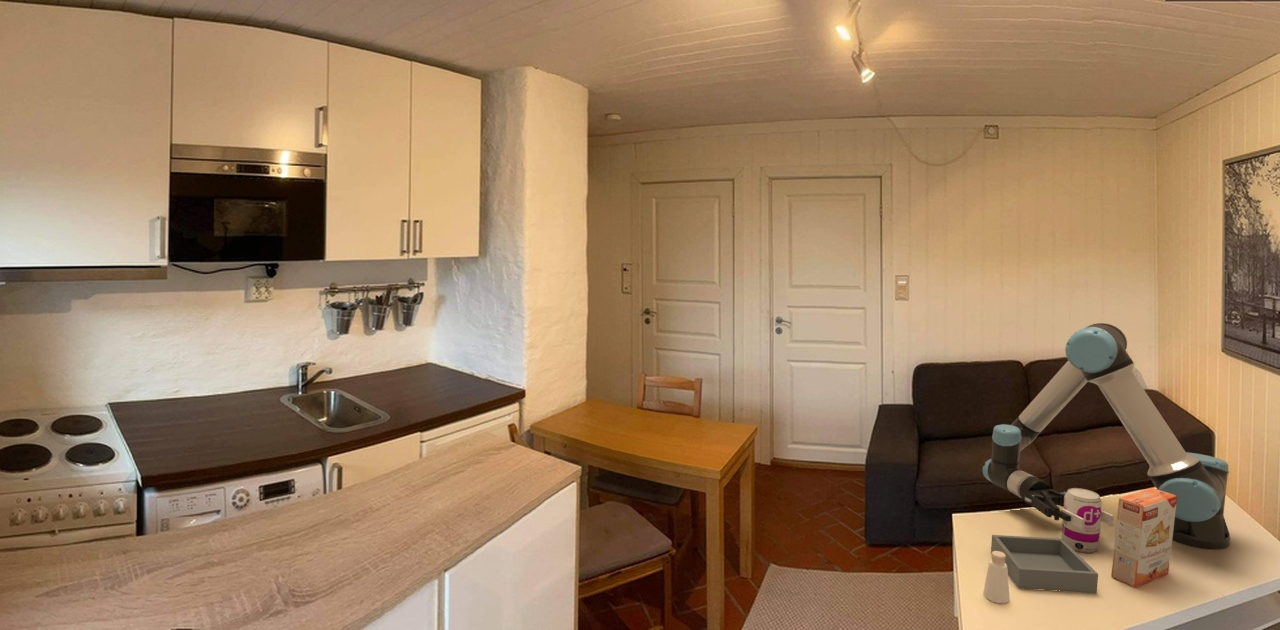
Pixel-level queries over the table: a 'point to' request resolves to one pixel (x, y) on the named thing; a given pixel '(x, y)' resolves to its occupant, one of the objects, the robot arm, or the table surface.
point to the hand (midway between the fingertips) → (1097, 522)
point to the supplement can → (1088, 509)
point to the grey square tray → (1045, 564)
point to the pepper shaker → (997, 579)
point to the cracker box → (1143, 536)
